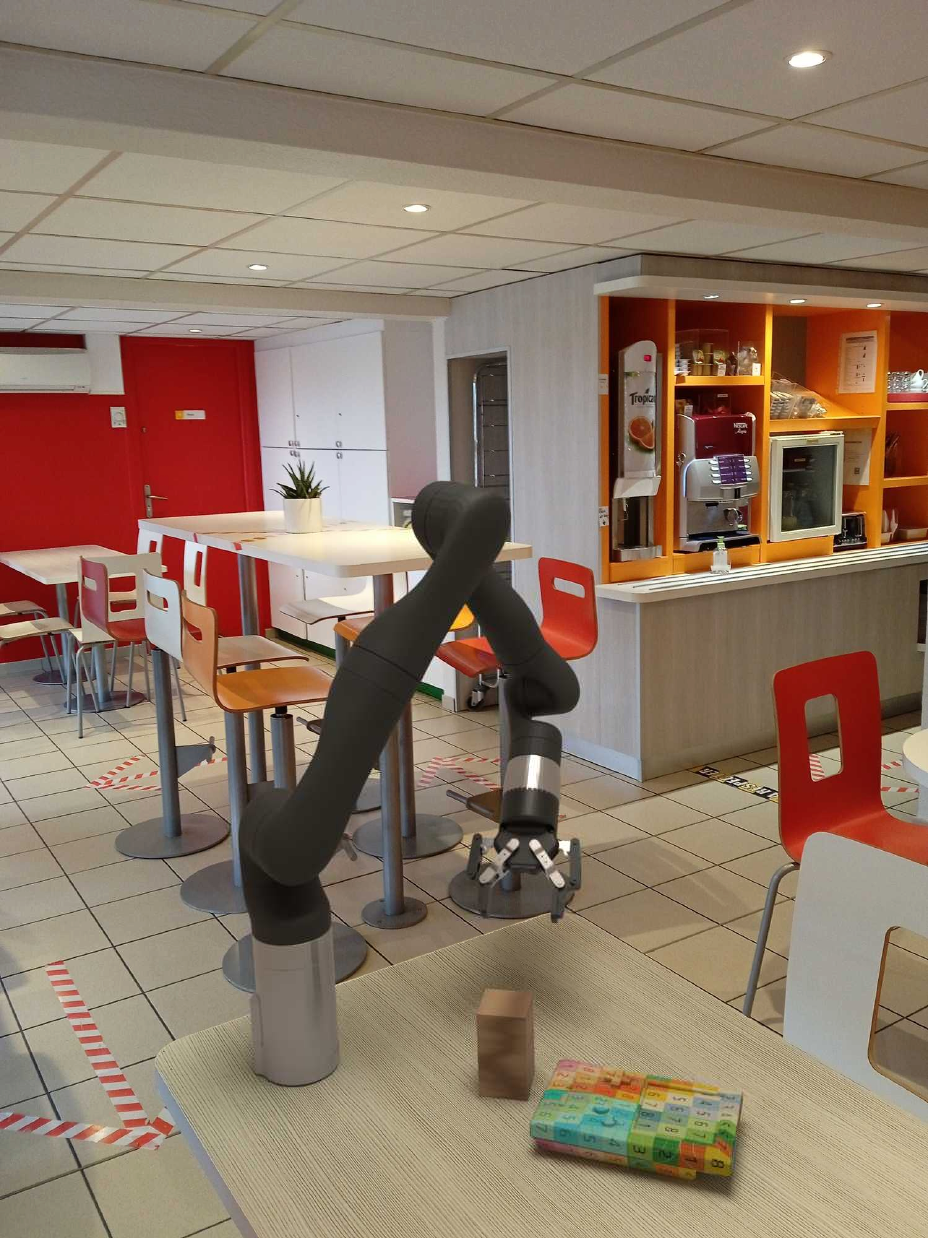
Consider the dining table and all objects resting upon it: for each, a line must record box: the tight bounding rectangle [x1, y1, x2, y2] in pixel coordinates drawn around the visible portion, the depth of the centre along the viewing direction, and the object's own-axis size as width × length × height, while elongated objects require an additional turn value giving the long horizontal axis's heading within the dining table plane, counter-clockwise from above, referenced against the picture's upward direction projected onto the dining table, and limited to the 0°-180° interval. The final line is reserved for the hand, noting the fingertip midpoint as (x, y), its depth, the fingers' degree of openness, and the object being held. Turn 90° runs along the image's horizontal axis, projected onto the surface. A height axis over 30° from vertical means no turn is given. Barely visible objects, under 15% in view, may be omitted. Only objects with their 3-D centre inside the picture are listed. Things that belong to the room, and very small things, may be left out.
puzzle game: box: [529, 1058, 744, 1181], centre depth 107 cm, size 12×5×20 cm
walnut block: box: [475, 988, 536, 1102], centre depth 117 cm, size 6×6×10 cm
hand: (519, 919), depth 126 cm, fingers open, 8 cm apart
